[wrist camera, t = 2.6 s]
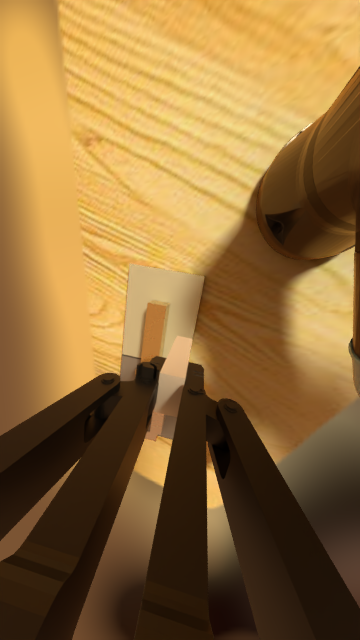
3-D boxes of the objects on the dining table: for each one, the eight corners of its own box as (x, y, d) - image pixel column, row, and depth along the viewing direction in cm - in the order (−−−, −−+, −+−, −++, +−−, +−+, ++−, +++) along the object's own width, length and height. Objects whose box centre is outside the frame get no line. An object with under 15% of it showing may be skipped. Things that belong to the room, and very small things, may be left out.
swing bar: (162, 373, 31) (155, 388, 27) (142, 369, 31) (133, 383, 27) (172, 303, 28) (166, 308, 23) (151, 299, 28) (141, 303, 24)
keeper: (169, 394, 32) (165, 407, 29) (163, 427, 34) (159, 442, 31) (134, 386, 33) (127, 397, 30) (131, 418, 35) (124, 432, 32)
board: (204, 276, 27) (204, 276, 26) (174, 434, 36) (173, 439, 34) (132, 264, 28) (129, 263, 27) (119, 420, 37) (116, 424, 36)
